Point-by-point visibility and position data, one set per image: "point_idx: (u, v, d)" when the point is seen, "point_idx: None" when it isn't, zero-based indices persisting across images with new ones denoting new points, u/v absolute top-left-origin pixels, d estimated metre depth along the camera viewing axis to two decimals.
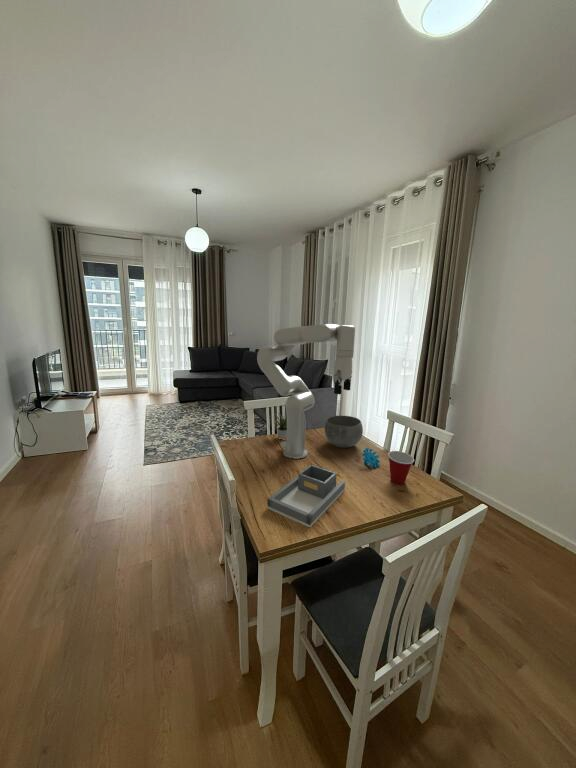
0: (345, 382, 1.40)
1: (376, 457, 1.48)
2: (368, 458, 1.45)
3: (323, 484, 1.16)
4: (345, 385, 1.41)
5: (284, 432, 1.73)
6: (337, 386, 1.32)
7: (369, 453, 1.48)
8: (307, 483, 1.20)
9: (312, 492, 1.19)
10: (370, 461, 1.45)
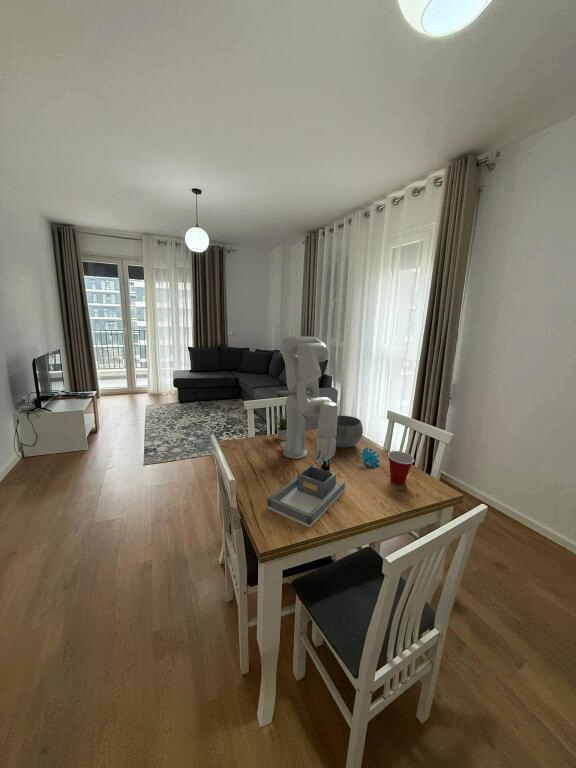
0: None
1: (376, 457, 1.49)
2: (367, 457, 1.46)
3: (322, 485, 1.15)
4: None
5: (284, 432, 1.73)
6: (324, 466, 1.26)
7: (368, 453, 1.48)
8: (306, 484, 1.19)
9: (311, 493, 1.19)
10: (369, 460, 1.45)
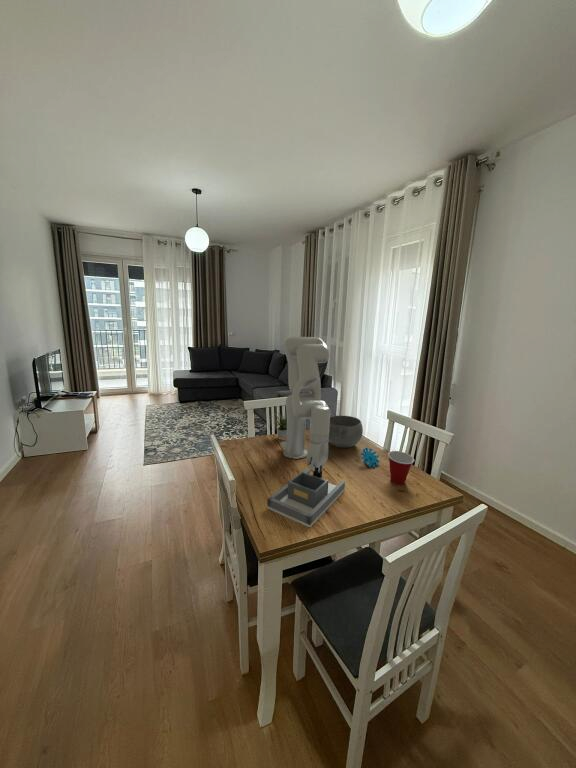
0: None
1: (375, 457, 1.49)
2: (367, 457, 1.46)
3: (313, 493, 1.10)
4: None
5: (284, 432, 1.73)
6: (316, 473, 1.21)
7: (368, 452, 1.48)
8: (297, 491, 1.14)
9: (302, 501, 1.13)
10: (369, 460, 1.45)
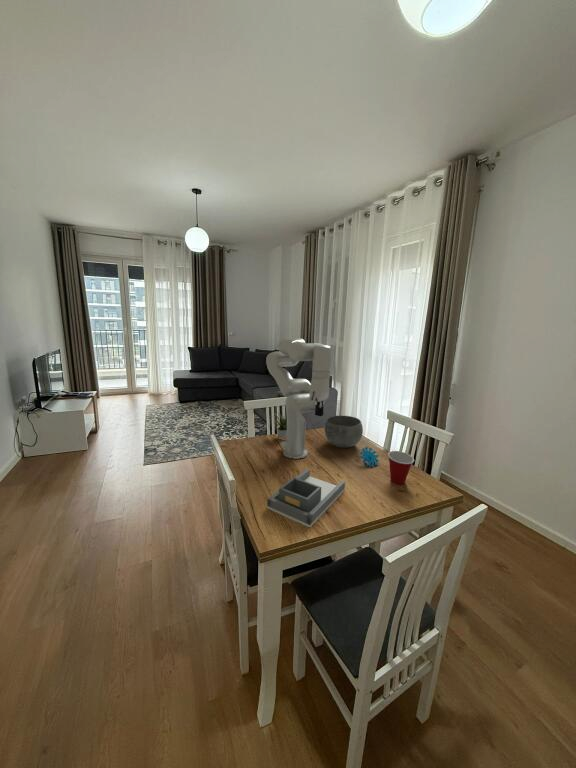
0: None
1: (375, 456, 1.49)
2: (366, 457, 1.47)
3: (305, 500, 1.05)
4: None
5: (284, 432, 1.73)
6: (318, 408, 1.32)
7: (368, 452, 1.49)
8: (288, 499, 1.09)
9: None
10: (367, 460, 1.46)
